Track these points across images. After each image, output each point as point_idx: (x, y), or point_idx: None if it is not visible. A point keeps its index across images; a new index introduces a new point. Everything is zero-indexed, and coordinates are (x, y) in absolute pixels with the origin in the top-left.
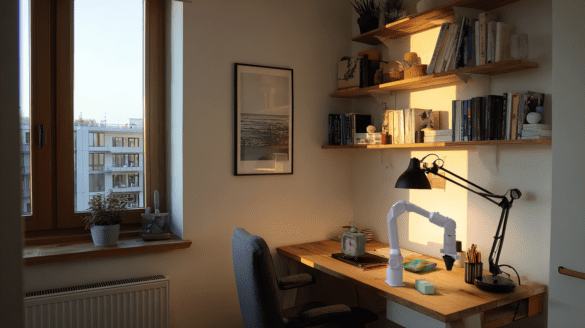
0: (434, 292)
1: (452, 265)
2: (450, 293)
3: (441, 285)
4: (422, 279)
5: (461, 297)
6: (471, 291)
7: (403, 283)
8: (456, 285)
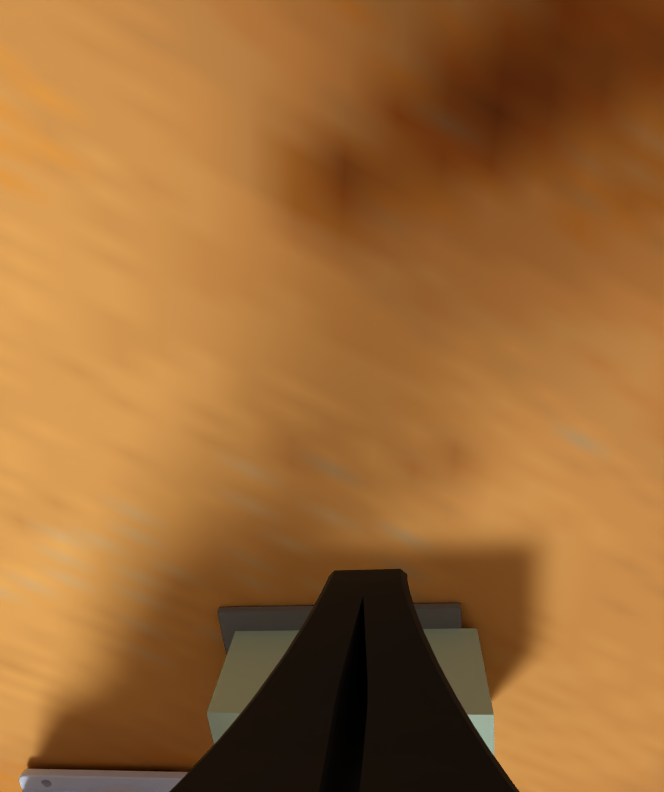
0: (441, 610)
1: (437, 686)
2: (475, 427)
3: (139, 394)
4: (218, 736)
5: (660, 357)
6: (422, 41)
7: (140, 778)
8: (119, 163)
